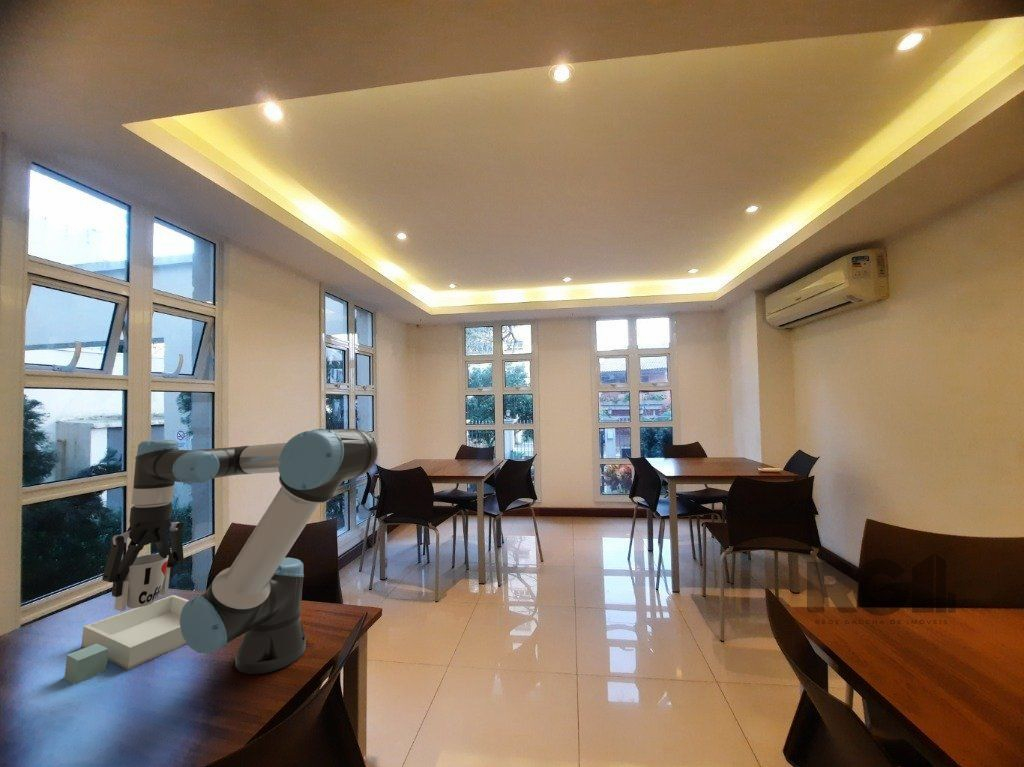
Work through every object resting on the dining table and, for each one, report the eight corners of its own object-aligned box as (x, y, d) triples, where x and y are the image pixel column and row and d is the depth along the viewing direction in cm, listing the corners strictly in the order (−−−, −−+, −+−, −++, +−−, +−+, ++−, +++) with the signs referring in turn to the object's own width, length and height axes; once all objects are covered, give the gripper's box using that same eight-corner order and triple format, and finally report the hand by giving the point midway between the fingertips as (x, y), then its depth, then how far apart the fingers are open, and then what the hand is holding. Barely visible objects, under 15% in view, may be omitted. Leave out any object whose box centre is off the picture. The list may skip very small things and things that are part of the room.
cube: (105, 671, 91) (108, 648, 91) (75, 684, 86) (78, 660, 87) (94, 665, 93) (96, 643, 93) (64, 678, 88) (67, 654, 88)
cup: (137, 612, 89) (142, 567, 89) (107, 609, 90) (112, 564, 91) (173, 596, 97) (177, 555, 97) (145, 593, 98) (149, 552, 99)
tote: (217, 629, 109) (219, 610, 110) (128, 670, 91) (130, 647, 92) (171, 612, 117) (173, 594, 118) (81, 646, 99) (83, 626, 100)
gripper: (188, 495, 106) (179, 582, 104) (86, 511, 87) (73, 619, 85) (207, 497, 104) (199, 586, 102) (107, 515, 84) (94, 626, 82)
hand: (142, 601), depth 93 cm, fingers closed on cup, 8 cm apart
